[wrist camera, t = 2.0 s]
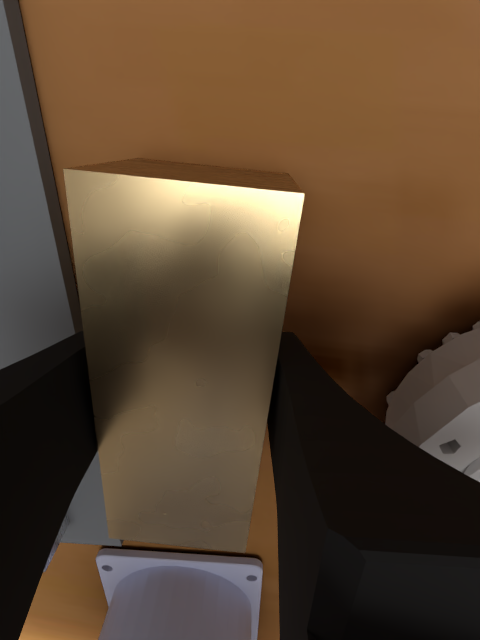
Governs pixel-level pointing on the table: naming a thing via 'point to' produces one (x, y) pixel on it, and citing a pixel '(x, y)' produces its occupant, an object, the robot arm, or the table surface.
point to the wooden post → (181, 337)
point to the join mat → (36, 251)
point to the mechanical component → (443, 402)
